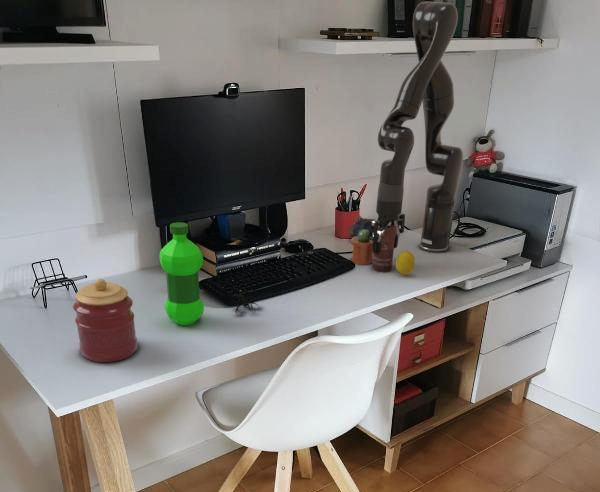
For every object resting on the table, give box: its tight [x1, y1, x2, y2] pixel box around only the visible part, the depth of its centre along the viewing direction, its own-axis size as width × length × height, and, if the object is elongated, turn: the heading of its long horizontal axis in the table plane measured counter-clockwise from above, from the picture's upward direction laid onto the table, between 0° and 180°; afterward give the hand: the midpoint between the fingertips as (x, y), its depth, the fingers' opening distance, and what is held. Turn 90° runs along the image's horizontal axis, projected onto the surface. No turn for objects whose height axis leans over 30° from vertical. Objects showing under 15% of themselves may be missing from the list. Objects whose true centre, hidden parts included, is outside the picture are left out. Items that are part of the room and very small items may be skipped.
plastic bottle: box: [158, 221, 205, 326], centre depth 162 cm, size 10×10×25 cm
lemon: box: [395, 249, 415, 276], centre depth 199 cm, size 6×6×8 cm
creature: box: [227, 287, 260, 317], centre depth 174 cm, size 8×5×8 cm
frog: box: [348, 217, 376, 238], centre depth 229 cm, size 10×12×8 cm
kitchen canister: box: [72, 278, 138, 363], centre depth 149 cm, size 13×13×18 cm
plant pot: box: [351, 229, 373, 265], centre depth 209 cm, size 8×8×10 cm
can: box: [371, 225, 397, 273], centre depth 202 cm, size 6×6×14 cm
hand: (384, 250), depth 203 cm, fingers open, 8 cm apart
